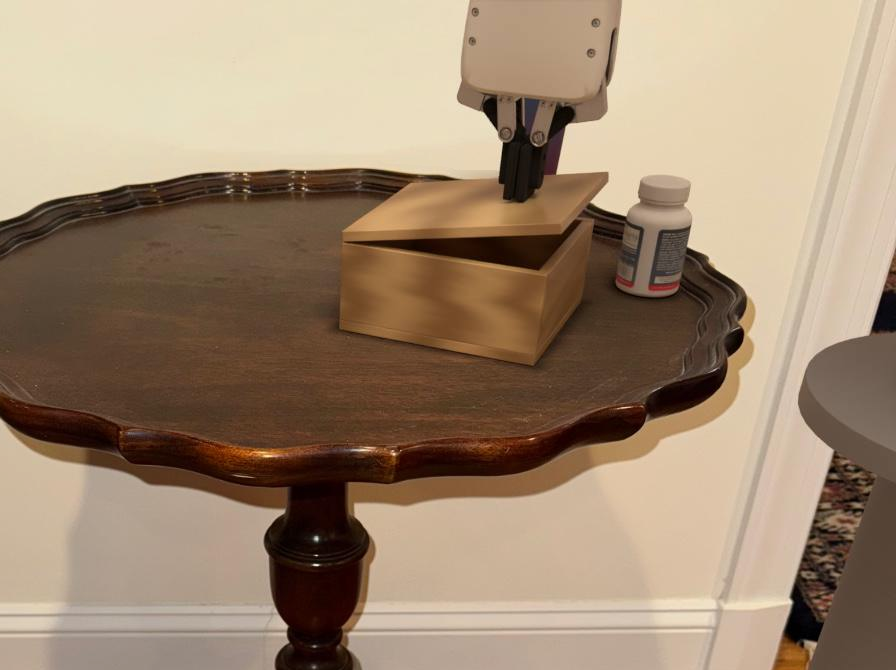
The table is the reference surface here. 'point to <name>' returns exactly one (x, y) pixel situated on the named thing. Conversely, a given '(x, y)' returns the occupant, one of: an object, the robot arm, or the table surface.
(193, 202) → the table surface
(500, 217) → the lid
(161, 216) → the table surface
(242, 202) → the table surface
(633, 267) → the pill bottle
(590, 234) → the chest
